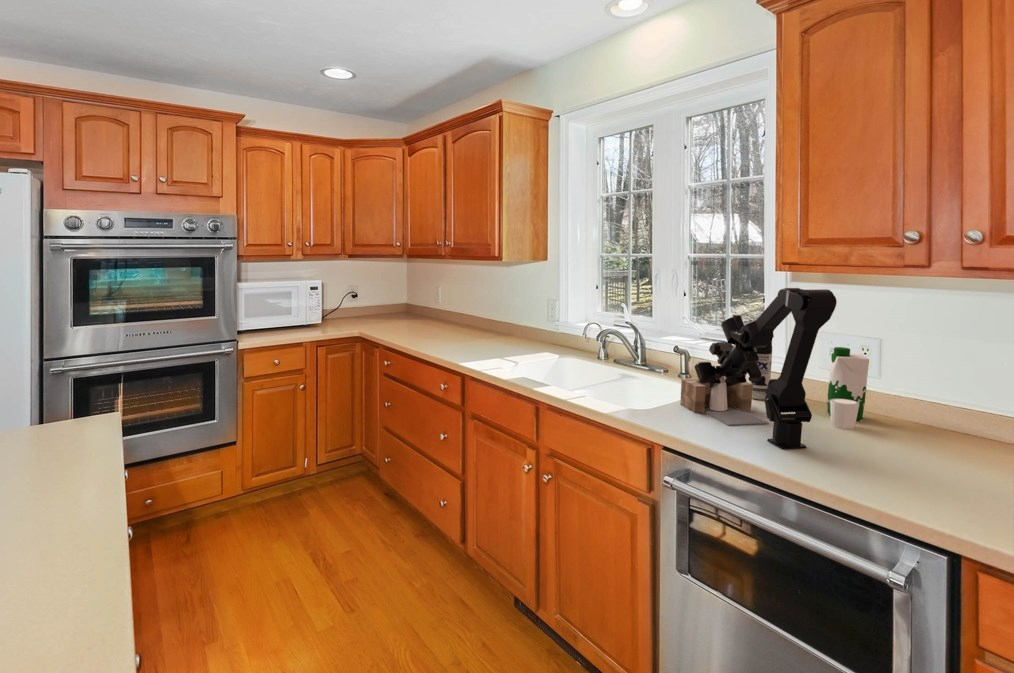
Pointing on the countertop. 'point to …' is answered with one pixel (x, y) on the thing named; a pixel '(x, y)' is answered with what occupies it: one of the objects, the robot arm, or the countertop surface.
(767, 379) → the spray can
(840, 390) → the milk carton
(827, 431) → the countertop surface
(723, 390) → the pepper shaker
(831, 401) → the white cup
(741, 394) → the wooden u-shaped block
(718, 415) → the grey mat
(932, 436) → the countertop surface
